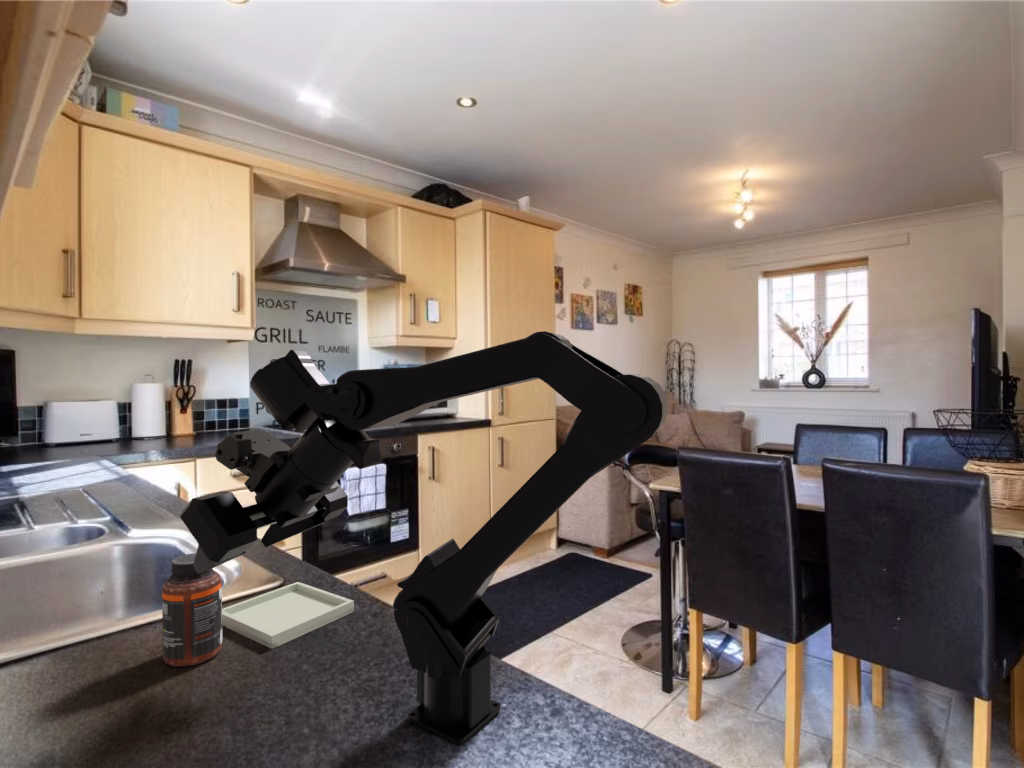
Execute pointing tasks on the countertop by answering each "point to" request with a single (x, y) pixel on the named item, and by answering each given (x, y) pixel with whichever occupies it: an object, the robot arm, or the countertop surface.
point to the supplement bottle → (191, 614)
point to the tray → (285, 613)
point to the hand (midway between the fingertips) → (232, 555)
